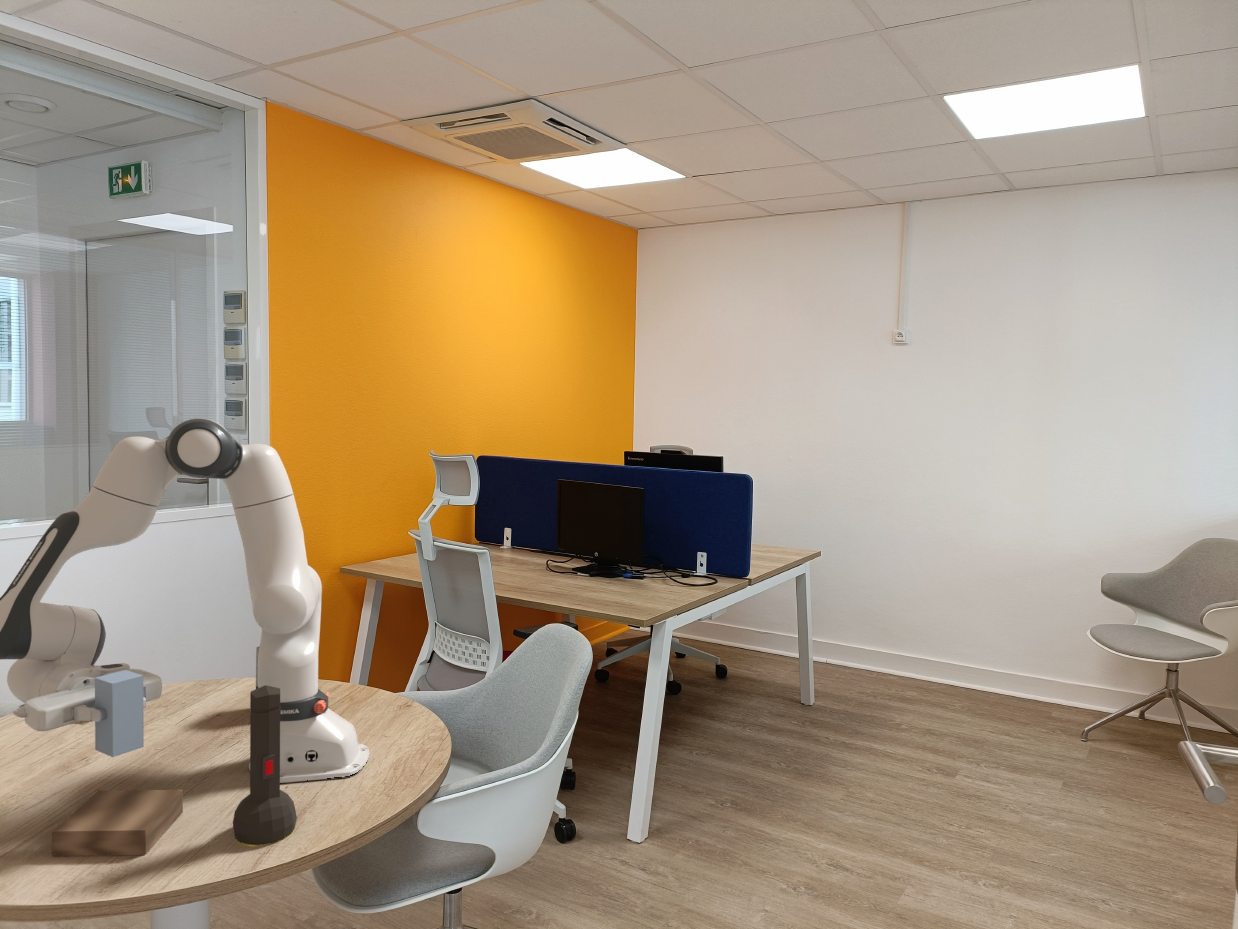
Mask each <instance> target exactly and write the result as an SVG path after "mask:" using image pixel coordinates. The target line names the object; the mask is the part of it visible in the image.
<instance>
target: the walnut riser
mask: <svg viewBox="0 0 1238 929" xmlns="http://www.w3.org/2000/svg"><path fill="white" fill-rule="evenodd" d="M183 793H184V790H183V789H141V790H140V789H131V790H130V789H126V790H123V789H121V790H120V789H119V790H117V789H115V790H114V789H113V790H110V789H109V790H106V789H105V790H100V789H99V790H96V791H95V792H94V793H93V794H92V795H91V796H90V797H89V798H88V799H87V800H86V801H84V802H83V803H82V804H80V805H79V806H78V807H77V808H76V809H75V810H74V811H73V812H72V813H71V814H69V815H67V817H66V818H65V819H64V820H62V821H61V822H60V823H59V824H58V825H57V826H56V827H54V828H53V829H52V830H51V857H87V856H91V857H92V856H94V857H95V856H146V855H147V854H148V853H149V852H150V850H151V849H152V848H153V847H154V846H155V845H156V844H157V842H158V841H159V840H161V838H162V837H163V836H164V834H165V833H166V832H167V831H168V829H170V828H171V826H173V824H174V823H175V822H176V821H177V820H178V819H179V817H180V816H181V815H182V814H183V813H184V804H183V803H184V802H183V801H184V795H183ZM147 852H148V853H147ZM145 854H146V855H145Z"/></svg>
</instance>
